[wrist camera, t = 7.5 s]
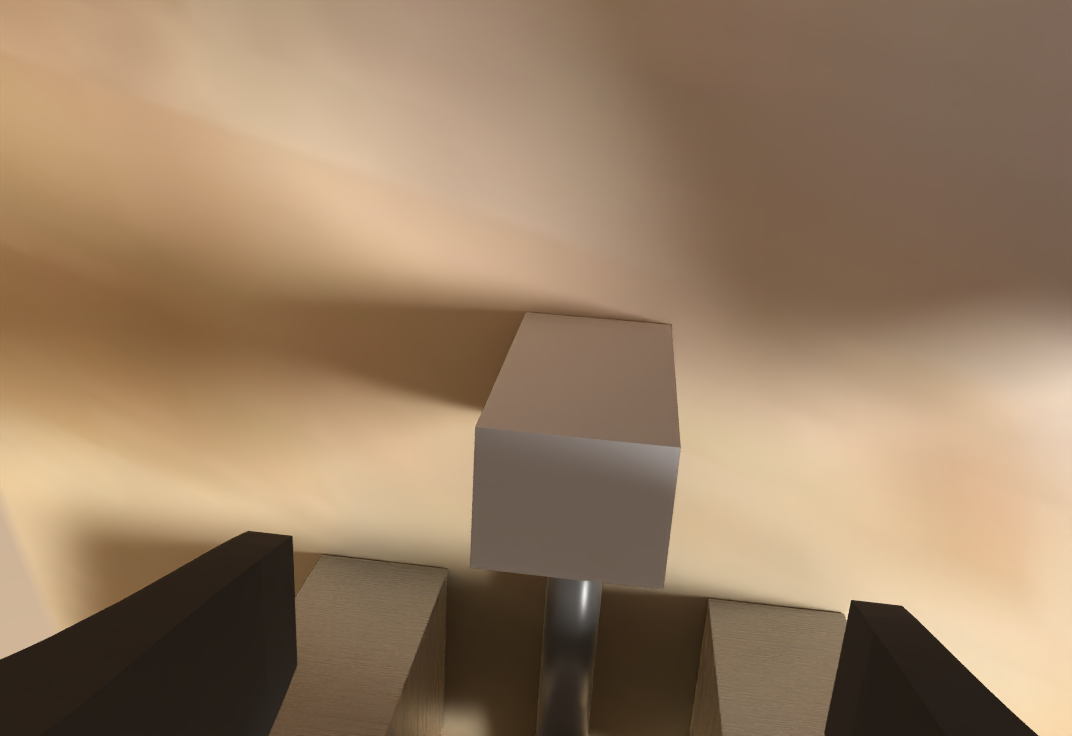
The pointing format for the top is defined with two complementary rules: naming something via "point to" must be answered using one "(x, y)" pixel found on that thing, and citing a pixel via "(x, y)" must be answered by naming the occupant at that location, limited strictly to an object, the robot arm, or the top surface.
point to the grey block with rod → (577, 483)
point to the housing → (420, 640)
